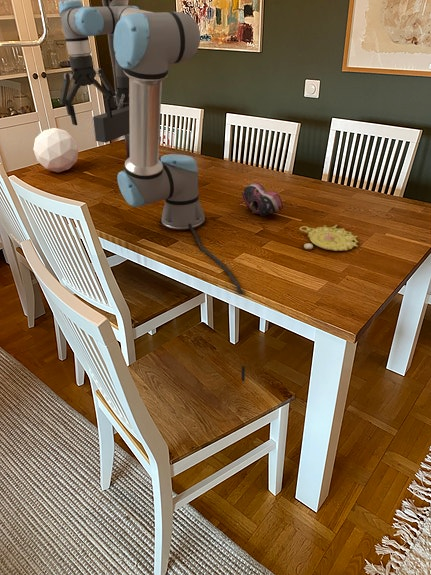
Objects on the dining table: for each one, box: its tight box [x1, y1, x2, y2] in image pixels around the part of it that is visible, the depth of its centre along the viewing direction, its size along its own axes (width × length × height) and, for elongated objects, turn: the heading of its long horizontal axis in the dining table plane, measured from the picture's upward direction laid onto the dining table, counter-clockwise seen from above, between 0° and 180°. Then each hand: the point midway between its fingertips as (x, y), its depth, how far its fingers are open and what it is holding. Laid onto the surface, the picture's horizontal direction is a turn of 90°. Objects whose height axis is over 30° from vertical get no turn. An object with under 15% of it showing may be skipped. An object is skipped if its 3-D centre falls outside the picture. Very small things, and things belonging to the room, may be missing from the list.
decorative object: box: [299, 224, 359, 252], centre depth 141 cm, size 21×2×20 cm
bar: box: [92, 106, 130, 143], centre depth 174 cm, size 23×5×9 cm, turn 155°
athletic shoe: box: [238, 182, 284, 217], centre depth 160 cm, size 11×22×12 cm
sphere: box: [32, 127, 79, 173], centre depth 205 cm, size 19×20×20 cm
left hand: (129, 119), depth 180 cm, fingers closed on bar, 6 cm apart
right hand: (92, 121), depth 160 cm, fingers open, 13 cm apart
